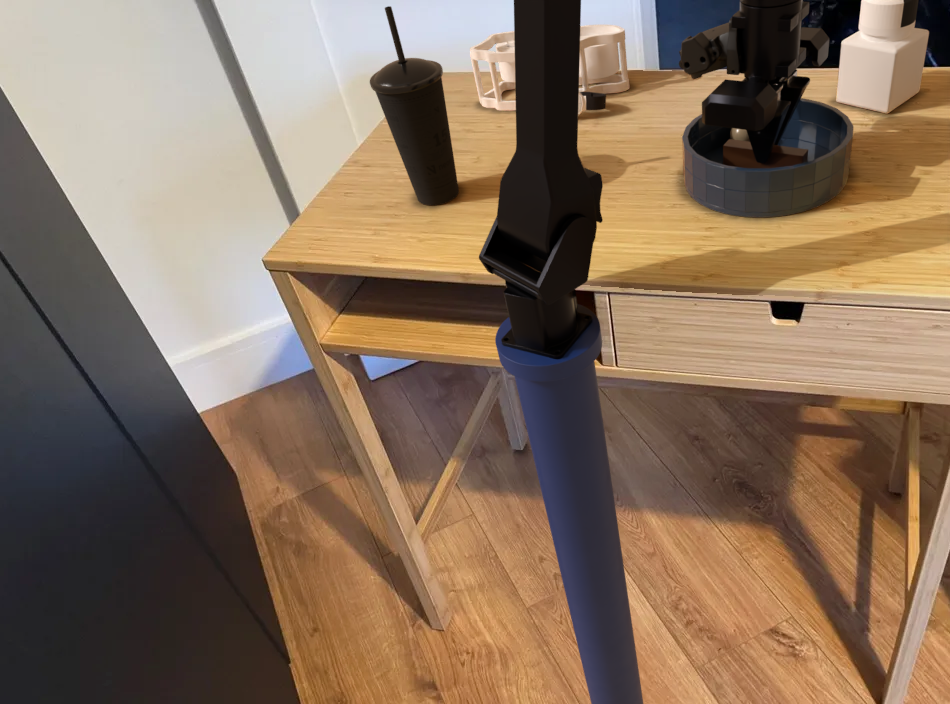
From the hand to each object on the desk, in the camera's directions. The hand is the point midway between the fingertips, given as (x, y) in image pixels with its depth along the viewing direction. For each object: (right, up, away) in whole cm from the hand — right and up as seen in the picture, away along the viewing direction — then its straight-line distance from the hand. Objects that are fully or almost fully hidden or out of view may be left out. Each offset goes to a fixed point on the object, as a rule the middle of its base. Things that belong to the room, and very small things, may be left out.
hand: (765, 158), depth 87 cm
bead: (-1, +4, +4) cm, 6 cm away
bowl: (0, -1, +1) cm, 2 cm away
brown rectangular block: (0, -1, +1) cm, 1 cm away
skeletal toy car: (-23, +18, +25) cm, 38 cm away
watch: (-20, +14, +18) cm, 30 cm away
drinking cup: (-36, -2, +8) cm, 37 cm away
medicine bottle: (+16, +11, +12) cm, 23 cm away
